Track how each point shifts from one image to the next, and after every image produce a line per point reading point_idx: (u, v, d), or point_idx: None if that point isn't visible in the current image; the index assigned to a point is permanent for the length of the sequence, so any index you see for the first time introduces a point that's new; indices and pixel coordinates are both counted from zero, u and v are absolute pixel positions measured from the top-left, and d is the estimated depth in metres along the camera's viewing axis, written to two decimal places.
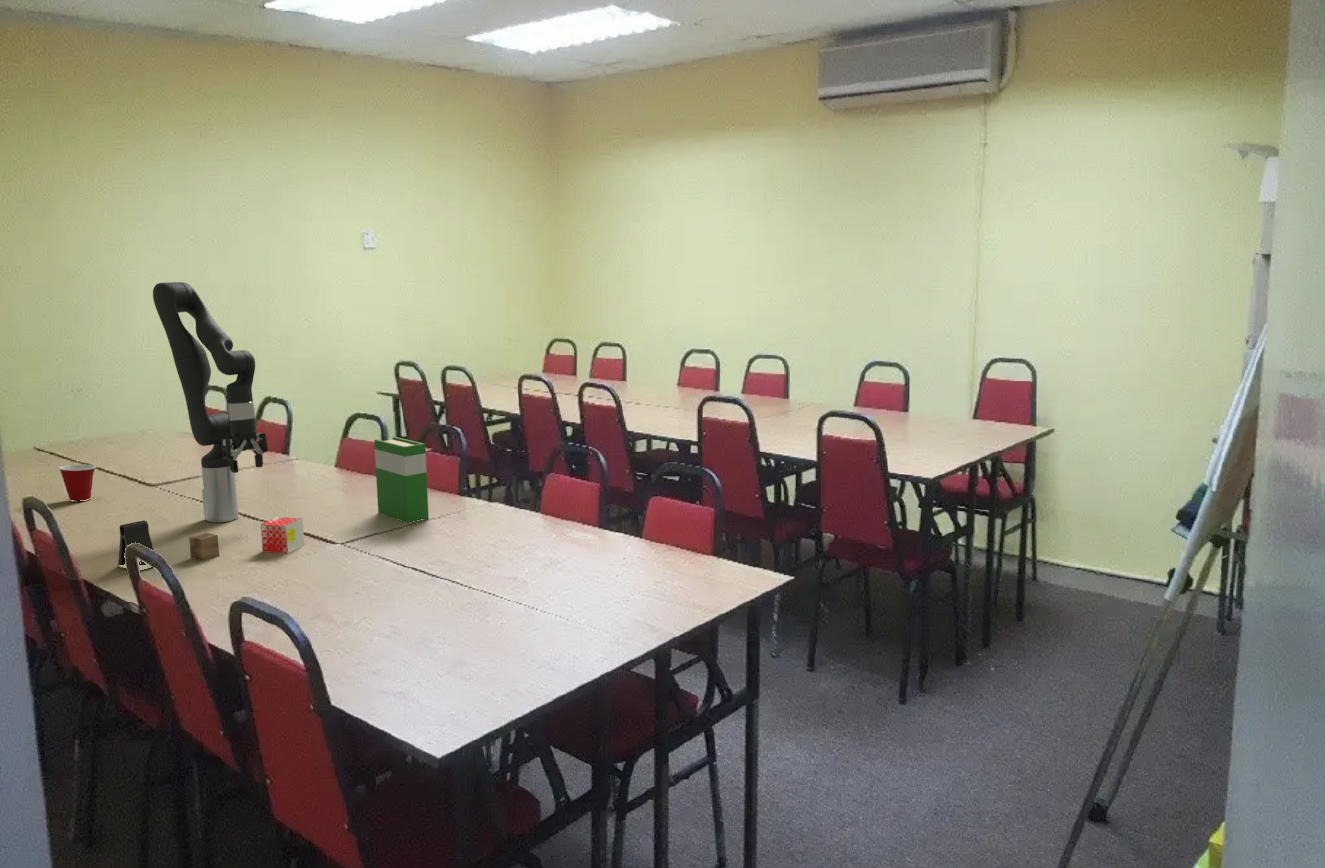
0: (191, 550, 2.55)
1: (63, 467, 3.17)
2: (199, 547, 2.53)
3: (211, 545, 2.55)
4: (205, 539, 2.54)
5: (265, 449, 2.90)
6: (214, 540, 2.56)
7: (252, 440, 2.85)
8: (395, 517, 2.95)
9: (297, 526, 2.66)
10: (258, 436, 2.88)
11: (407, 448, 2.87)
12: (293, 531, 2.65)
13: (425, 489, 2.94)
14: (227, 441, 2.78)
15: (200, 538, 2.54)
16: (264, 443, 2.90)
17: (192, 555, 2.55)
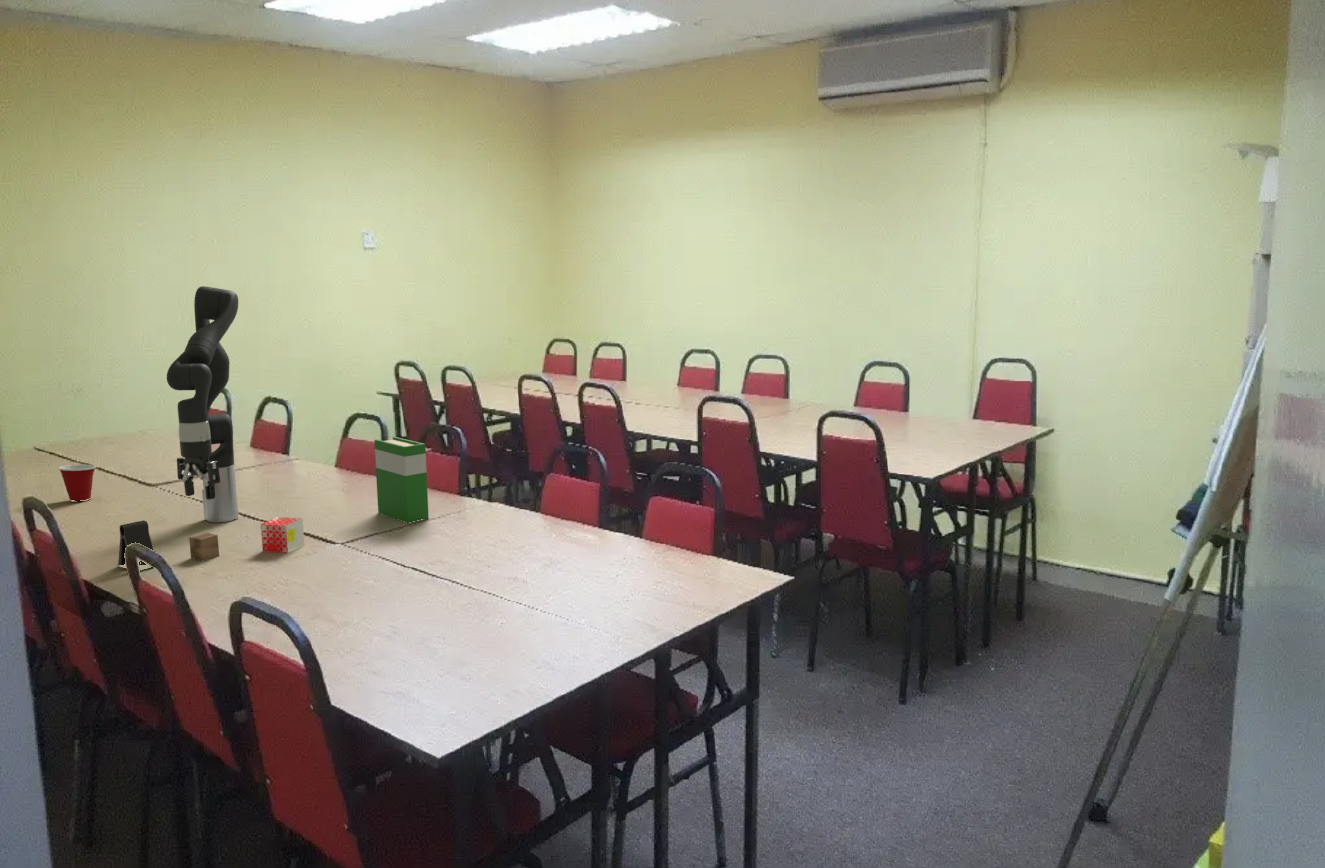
0: (191, 550, 2.55)
1: (63, 467, 3.17)
2: (199, 547, 2.53)
3: (211, 545, 2.55)
4: (205, 539, 2.54)
5: None
6: (214, 540, 2.56)
7: None
8: (395, 517, 2.95)
9: (297, 526, 2.66)
10: None
11: (407, 448, 2.87)
12: (293, 531, 2.65)
13: (425, 489, 2.94)
14: (217, 462, 2.50)
15: (200, 538, 2.54)
16: None
17: (192, 555, 2.55)
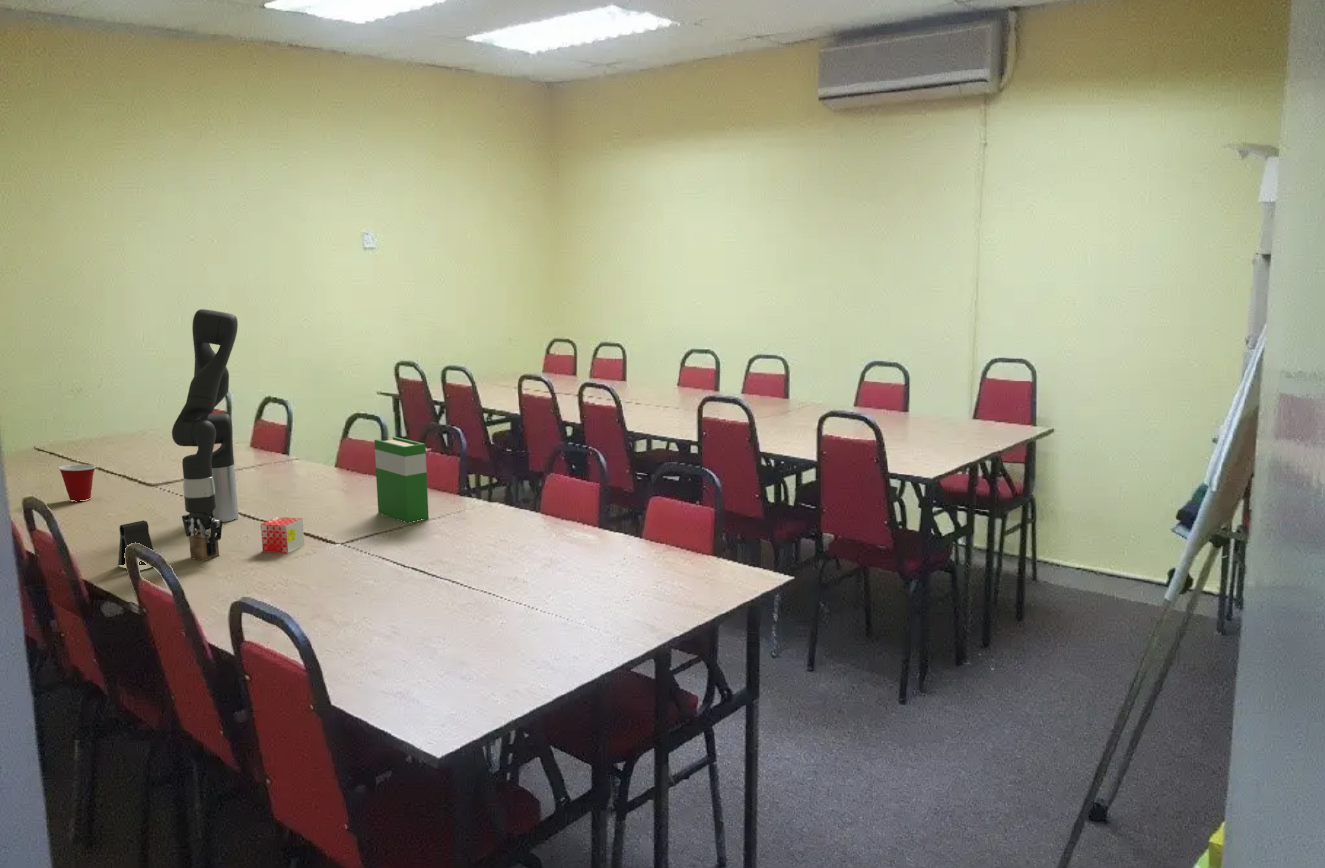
0: (191, 550, 2.55)
1: (63, 467, 3.17)
2: (199, 547, 2.53)
3: None
4: (205, 539, 2.54)
5: None
6: None
7: None
8: (395, 517, 2.95)
9: (297, 526, 2.66)
10: None
11: (407, 448, 2.87)
12: (293, 531, 2.65)
13: (425, 489, 2.94)
14: (221, 521, 2.53)
15: (200, 538, 2.54)
16: None
17: (192, 555, 2.55)
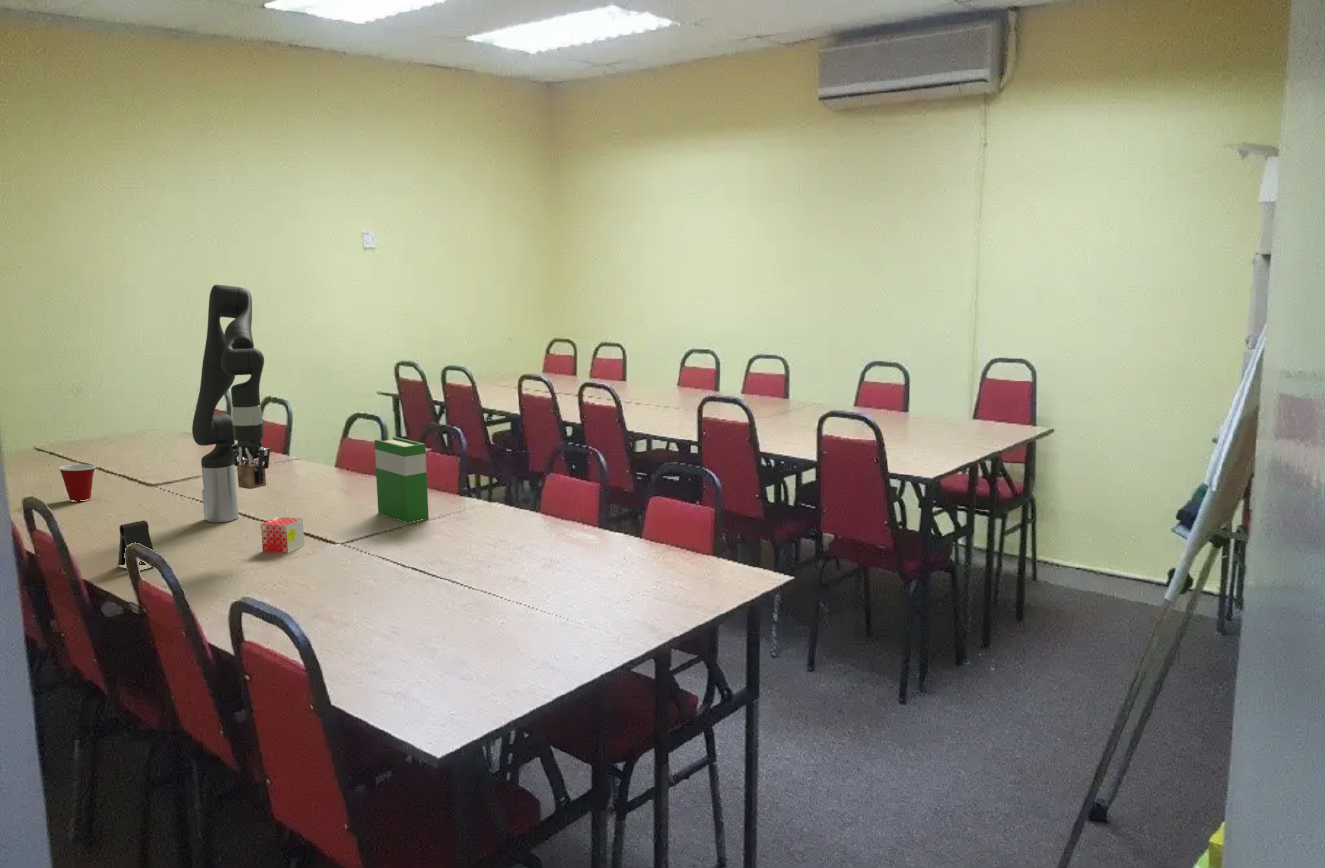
0: (239, 479, 2.57)
1: (63, 467, 3.17)
2: (247, 475, 2.55)
3: None
4: (252, 467, 2.56)
5: None
6: None
7: None
8: (395, 517, 2.95)
9: (297, 526, 2.66)
10: None
11: (407, 448, 2.87)
12: (293, 531, 2.65)
13: (425, 489, 2.94)
14: None
15: (248, 466, 2.55)
16: None
17: (240, 484, 2.57)
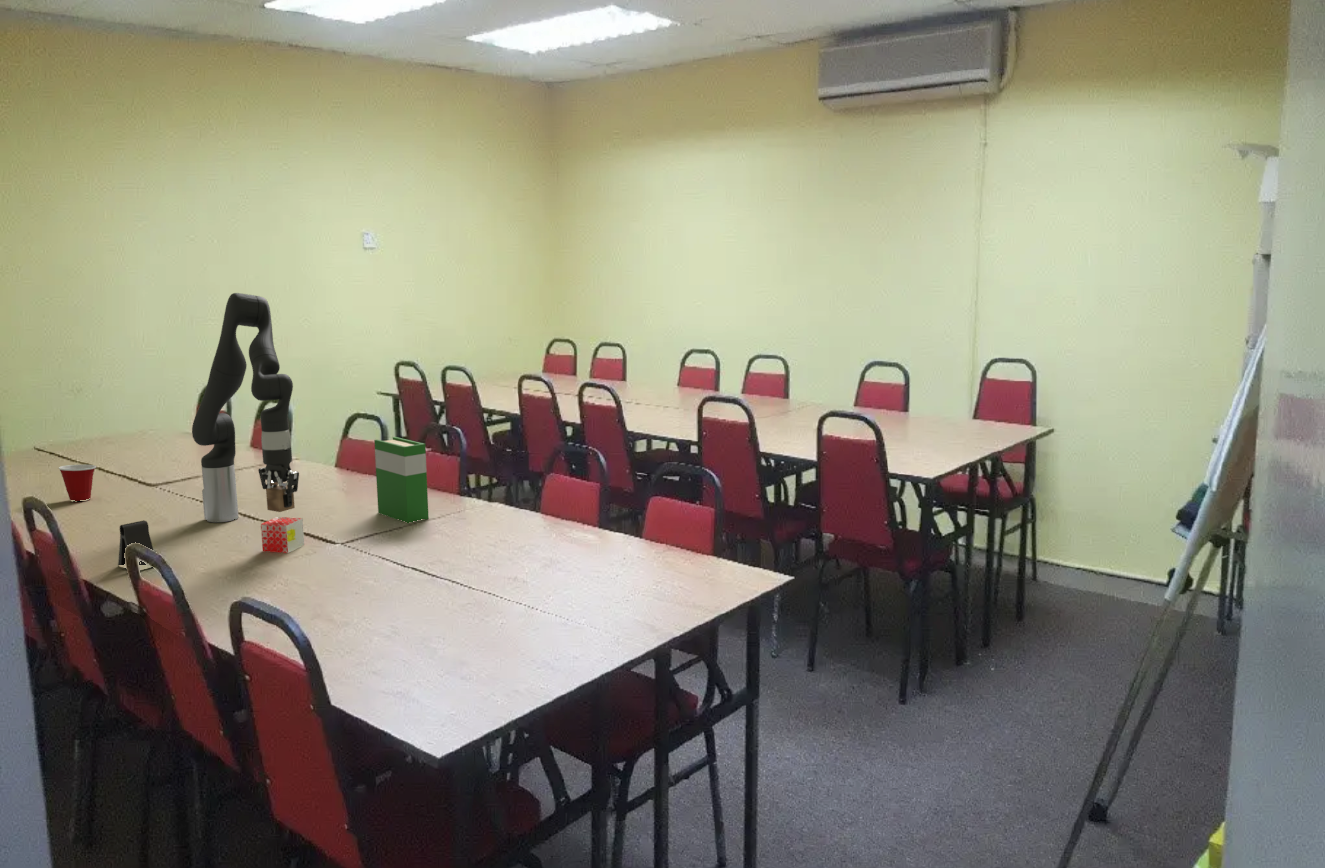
0: (268, 502, 2.62)
1: (63, 467, 3.17)
2: (276, 498, 2.60)
3: None
4: (282, 491, 2.60)
5: None
6: None
7: None
8: (395, 517, 2.95)
9: (297, 526, 2.66)
10: None
11: (407, 448, 2.87)
12: (293, 531, 2.65)
13: (425, 489, 2.94)
14: None
15: (277, 490, 2.60)
16: None
17: (269, 507, 2.62)
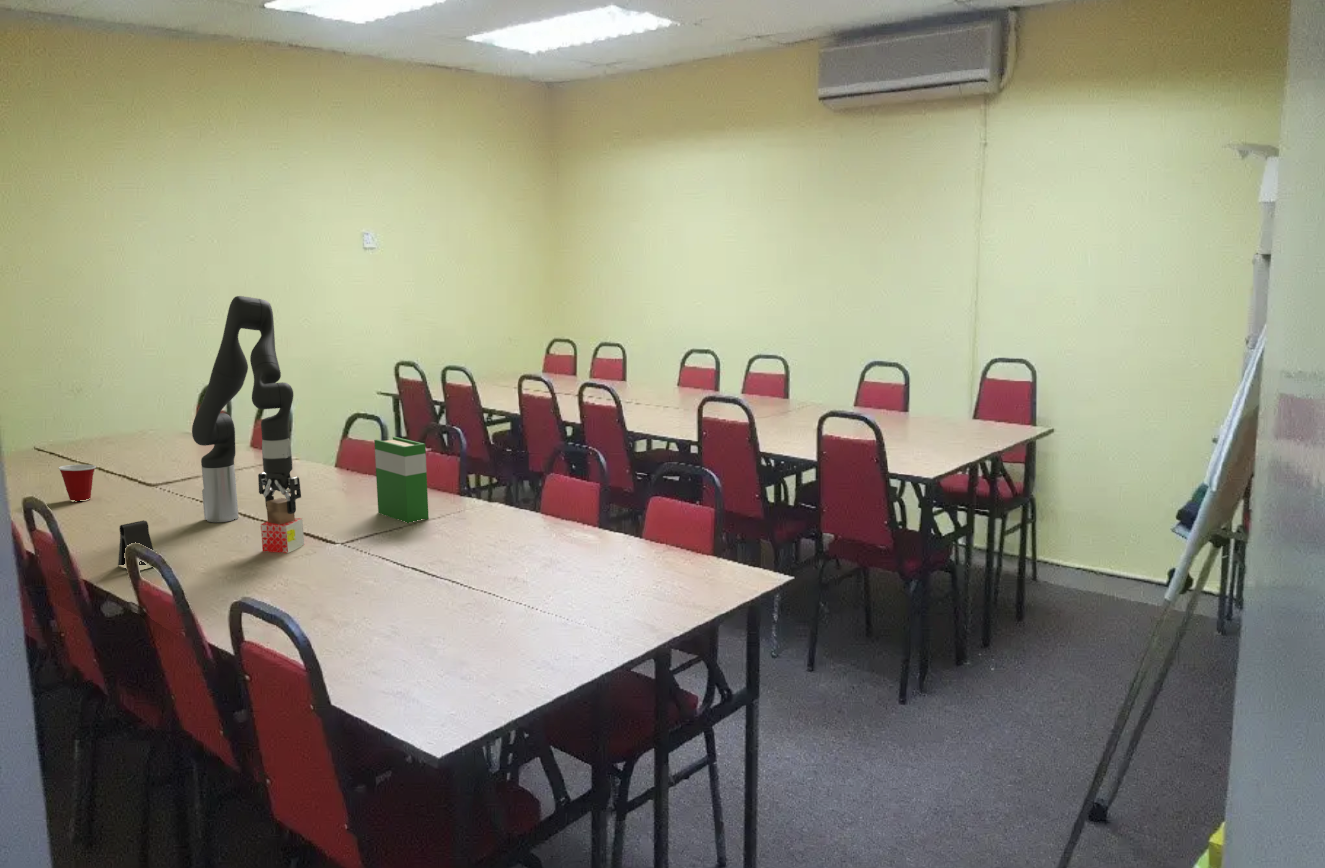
0: (268, 514, 2.62)
1: (63, 467, 3.17)
2: (277, 511, 2.60)
3: None
4: (282, 503, 2.61)
5: None
6: None
7: None
8: (395, 517, 2.95)
9: (297, 526, 2.66)
10: None
11: (407, 448, 2.87)
12: (293, 531, 2.65)
13: (425, 489, 2.94)
14: None
15: (277, 502, 2.60)
16: None
17: (269, 519, 2.62)
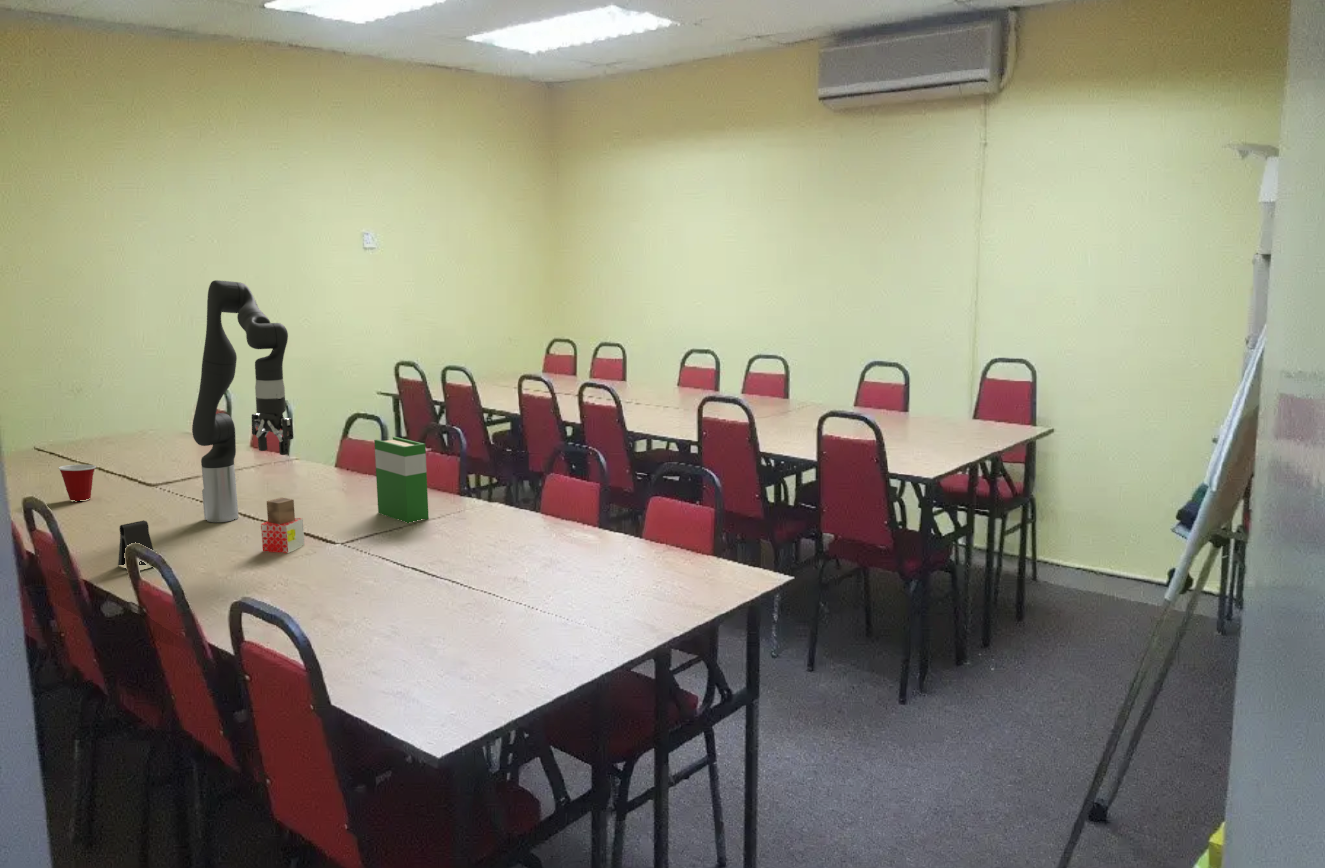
0: (268, 514, 2.62)
1: (63, 467, 3.17)
2: (277, 511, 2.60)
3: (287, 509, 2.62)
4: (282, 503, 2.60)
5: None
6: (290, 504, 2.63)
7: None
8: (395, 517, 2.95)
9: (297, 526, 2.66)
10: None
11: (407, 448, 2.87)
12: (293, 531, 2.65)
13: (425, 489, 2.94)
14: (291, 419, 2.60)
15: (277, 502, 2.60)
16: None
17: (269, 519, 2.62)
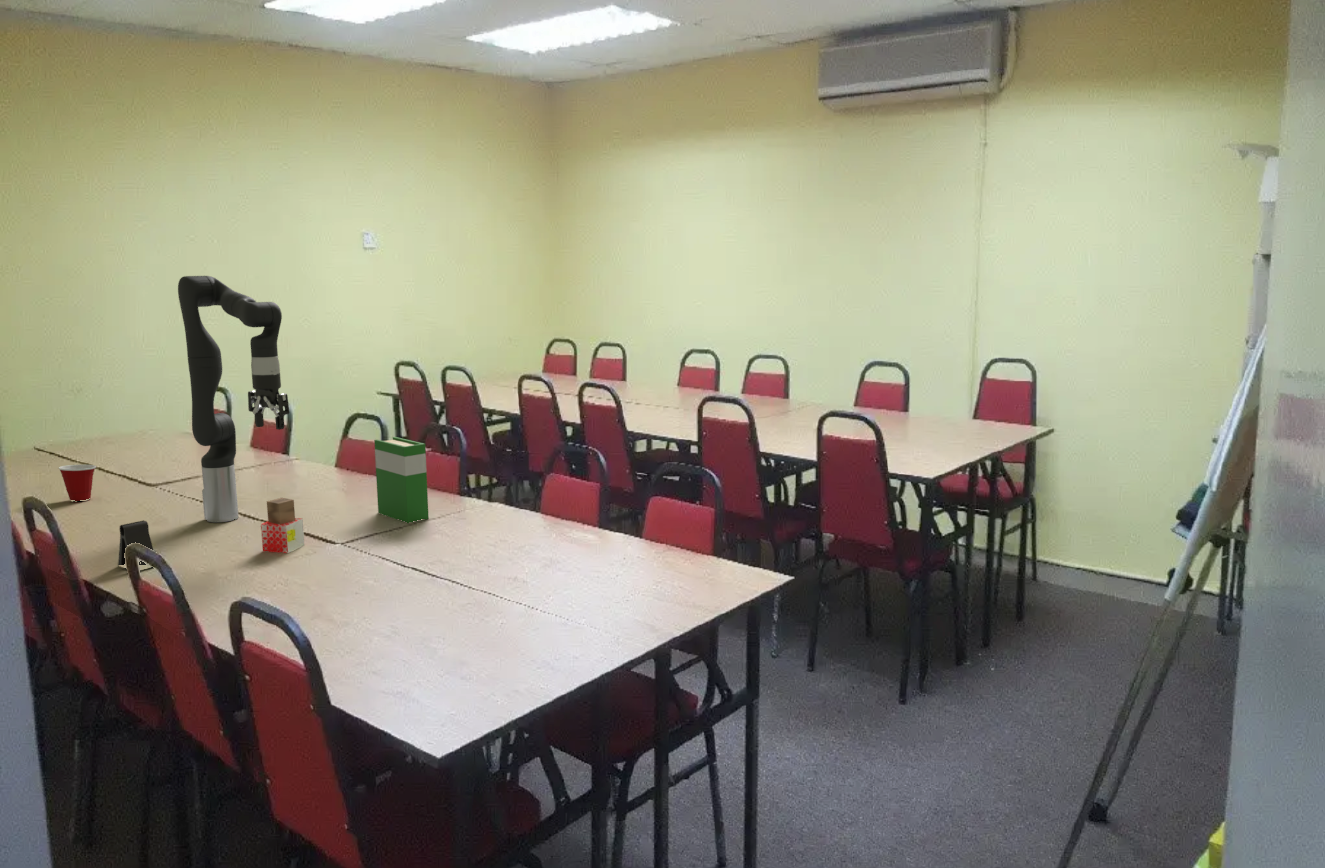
0: (268, 514, 2.62)
1: (63, 467, 3.17)
2: (277, 511, 2.60)
3: (287, 509, 2.62)
4: (282, 503, 2.60)
5: None
6: (290, 505, 2.63)
7: None
8: (395, 517, 2.95)
9: (297, 526, 2.66)
10: None
11: (407, 448, 2.87)
12: (293, 531, 2.65)
13: (425, 489, 2.94)
14: (286, 395, 2.68)
15: (277, 502, 2.60)
16: None
17: (269, 519, 2.62)
